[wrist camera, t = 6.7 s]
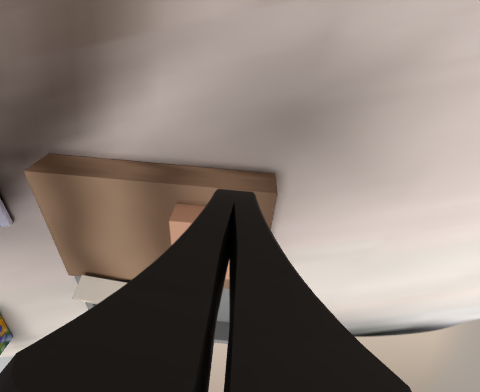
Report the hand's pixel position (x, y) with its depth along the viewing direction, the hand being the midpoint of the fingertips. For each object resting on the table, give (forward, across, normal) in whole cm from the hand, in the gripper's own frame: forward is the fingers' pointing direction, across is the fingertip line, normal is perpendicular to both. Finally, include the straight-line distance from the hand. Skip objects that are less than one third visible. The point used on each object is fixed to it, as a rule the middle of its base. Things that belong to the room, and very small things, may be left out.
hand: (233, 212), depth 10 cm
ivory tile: (+7, +10, +15) cm, 19 cm away
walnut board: (+9, +5, +8) cm, 13 cm away
